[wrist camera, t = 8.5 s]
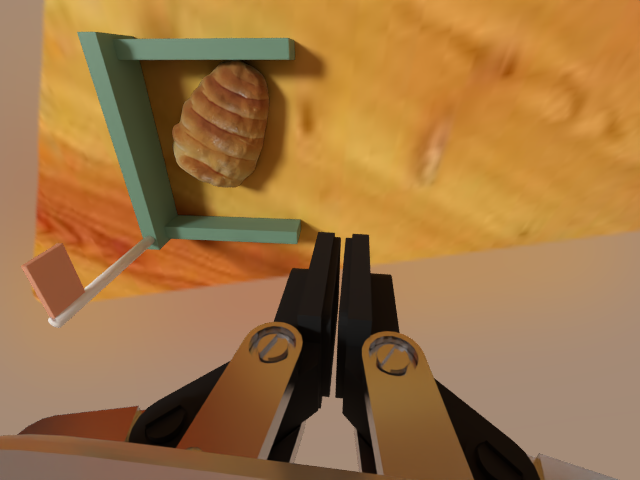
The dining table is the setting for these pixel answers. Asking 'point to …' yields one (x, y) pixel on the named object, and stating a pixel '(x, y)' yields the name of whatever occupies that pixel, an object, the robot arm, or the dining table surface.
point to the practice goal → (149, 162)
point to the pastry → (223, 125)
